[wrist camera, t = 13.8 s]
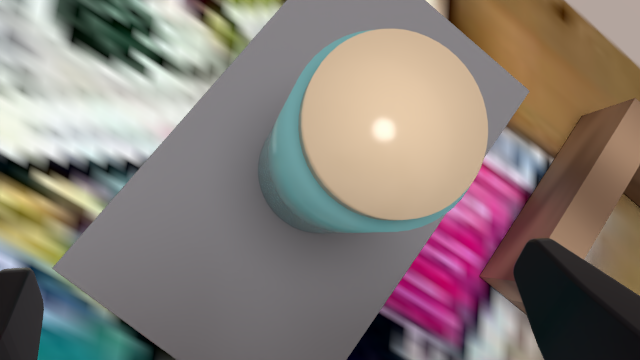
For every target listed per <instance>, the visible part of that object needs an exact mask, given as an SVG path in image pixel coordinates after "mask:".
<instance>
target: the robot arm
mask: <svg viewBox="0 0 640 360" xmlns="http://www.w3.org/2000/svg"><path fill="white" fill-rule="evenodd" d="M513 275H514V279H515V282H516V285H517V288H518V291H519V294H520V297H521V299H522V302H523V305H524V308H525V311H526V314H527V317H528V319H529V322H530V325H531V328H532V331H533V334H534V336H535V339H536V342H537V344H538V347H539V349H540V351H541V354H542V356H543V358H544V360H640V296H639V295H637V294H636V293H634V292H633V291H631V290H630V289H628V288H627V287H625V286H624V285H622V284H620V283H619V282H617V281H616V280H614V279H613V278H611V277H610V276H608V275H607V274H605V273H604V272H602V271H600V270H599V269H597V268H596V267H594V266H593V265H591V264H590V263H588V262H587V261H585V260H584V259H582V258H580V257H579V256H577V255H576V254H574V253H573V252H571V251H570V250H568V249H567V248H565V247H563V246H562V245H560V244H559V243H557V242H556V241H554V240H553V239H550V238H533V239H530V240H529V241H527V243H526V244H525V246H524V248H523V250H522V251H521V253H520V255H519V257H518V259H517V261H516V262H515V264H514V268H513ZM43 311H44V306H43V299H42V296H41V293H40V290H39V287H38V283H37V280H36V277H35V274H34V272H33V271H32V269H30V268H12V269H4V270H2V271H0V360H37V358H38V350H39V343H40V335H41V328H42V320H43Z"/></svg>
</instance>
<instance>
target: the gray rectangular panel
mask: <svg viewBox="0 0 640 360" xmlns="http://www.w3.org/2000/svg"><path fill="white" fill-rule="evenodd" d="M377 29H403V30H408V31H413V32H417V33H419V34H422V35H425V36H427V37H429V38H431V39H433V40H435V41H437V42H439V43H440V44H442V45H443V46H445V47H446V48H448V49H449V50H450V51H451V52H452V53H453V54H455V55H456V56H457V57H458V58H459V59H460V60H461V62H462V63H463V64H464V65H465V66H466V67H467V69H468V70H469V72H470V73H471V75H472V76H473V78H474V80H475V81H476V83H477V85H478V87H479V90H480V92H481V95H482V97H483V100H484V104H485V108H486V113H487V120H488V140H487V148H486V152H485V156H486V154H487V153H488V151H489V150H490V148H491V147H492V146H493V144H494V143H495V141H496V140H497V138H498V137H499V135H500V134H501V132H502V131H503V129H504V128H505V126H506V125H507V124H508V122H509V121H510V119H511V118H512V116H513V115H514V113H515V112H516V110H517V109H518V107H519V106H520V104H521V103H522V102H523V100H524V99H525V97H526V96H527V94H528V93H529V90H528V89H527V88H525V87H524V86H523V85H522V84H521V83H520V82H519V81H517V80H516V79H515V78H514V77H513V76H512V75H510V74H509V73H508V72H507V71H506V70H505V69H504V68H502V67H501V66H500V65H499V64H498V63H497V62H496V61H494V60H493V59H492V58H491V57H490V56H489V55H487V54H486V53H485V52H484V51H483V50H482V49H481V48H479V47H478V46H477V45H476V44H475V43H474V42H472V41H471V40H470V39H469V38H468V37H467V36H466V35H464V34H463V33H462V32H461V31H460V30H459V29H457V28H456V27H455V26H454V25H453V24H452V23H451V22H449V21H448V20H447V19H446V18H445V17H444V16H443V15H441V14H440V13H439V12H438V11H437V10H436V9H434V8H433V7H432V6H431V5H430V4H429V3H428V2H426V1H425V0H287V1H286V2H285V3H284V4H283V5H282V7H281V8H280V9H279V10H278V11H277V12H276V13H275V15H274V16H273V17H272V18H271V19H270V20H269V21H268V23H267V24H266V25H265V26H264V27H263V28H262V29H261V31H260V32H259V33H258V34H257V35H256V36H255V37H254V39H253V40H252V41H251V42H250V43H249V44H248V45H247V47H246V48H245V49H244V50H243V51H242V52H241V53H240V55H239V56H238V57H237V58H236V59H235V60H234V61H233V63H232V64H231V65H230V66H229V67H228V68H227V69H226V71H225V72H224V73H223V74H222V75H221V76H220V77H219V79H218V80H217V81H216V82H215V83H214V84H213V85H212V86H211V88H210V89H209V90H208V91H207V92H206V93H205V94H204V96H203V97H202V98H201V99H200V100H199V101H198V102H197V104H196V105H195V106H194V107H193V108H192V109H191V110H190V112H189V113H188V114H187V115H186V116H185V117H184V118H183V120H182V121H181V122H180V123H179V124H178V125H177V126H176V128H175V129H174V130H173V131H172V132H171V133H170V134H169V136H168V137H167V138H166V139H165V140H164V141H163V142H162V144H161V145H160V146H159V147H158V148H157V149H156V150H155V152H154V153H153V154H152V155H151V156H150V157H149V158H148V160H147V161H146V162H145V163H144V164H143V165H142V166H141V168H140V169H139V170H138V171H137V172H136V173H135V174H134V176H133V177H132V178H131V179H130V180H129V181H128V182H127V183H126V185H125V186H124V187H123V188H122V189H121V190H120V191H119V193H118V194H117V195H116V196H115V197H114V198H113V199H112V201H111V202H110V203H109V204H108V205H107V206H106V207H105V209H104V210H103V211H102V212H101V213H100V214H99V215H98V217H97V218H96V219H95V220H94V221H93V222H92V223H91V225H90V226H89V227H88V228H87V229H86V230H85V231H84V233H83V234H82V235H81V236H80V237H79V238H78V239H77V241H76V242H75V243H74V244H73V245H72V246H71V247H70V249H69V250H68V251H67V252H66V253H65V254H64V255H63V257H62V258H61V259H60V260H59V261H58V262H57V263H56V265H55V266H54V267H53V268H52V269H54V270H55V271H56V272H58V273H59V274H60V275H62V276H63V277H65V278H66V279H67V280H69V281H70V282H71V283H73V284H74V285H75V286H77V287H78V288H80V289H81V290H82V291H84V292H85V293H86V294H88V295H89V296H90V297H92V298H93V299H95V300H96V301H97V302H99V303H100V304H101V305H103V306H104V307H105V308H107V309H108V310H110V311H111V312H112V313H114V314H115V315H116V316H118V317H119V318H120V319H122V320H123V321H125V322H126V323H127V324H129V325H130V326H131V327H133V328H134V329H135V330H137V331H138V332H139V333H141V334H142V335H144V336H145V337H146V338H148V339H149V340H150V341H152V342H153V343H154V344H156V345H157V346H159V347H160V348H161V349H163V350H164V351H165V352H167V353H168V354H169V355H171V356H172V357H174V358H175V359H176V360H347V358H348V357H349V355H350V354H351V352H352V351H353V349H354V348H355V346H356V345H357V343H358V342H359V340H360V339H361V338H362V336H363V335H364V333H365V332H366V330H367V329H368V327H369V326H370V324H371V323H372V321H373V320H374V318H375V317H376V316H377V314H378V313H379V311H380V310H381V308H382V307H383V305H384V304H385V302H386V301H387V299H388V298H389V296H390V295H391V294H392V292H393V291H394V289H395V288H396V286H397V285H398V283H399V282H400V280H401V279H402V277H403V276H404V275H405V273H406V272H407V270H408V269H409V267H410V266H411V264H412V263H413V261H414V260H415V258H416V257H417V255H418V254H419V253H420V251H421V250H422V248H423V247H424V245H425V244H426V242H427V241H428V239H429V238H430V236H431V235H432V233H433V232H434V231H435V229H436V228H437V226H438V225H439V223H440V222H441V220H442V219H443V217H444V216H445V215H443V216H442V217H440V218H438V219H437V220H435V221H433V222H431V223H429V224H427V225H424V226H422V227H419V228H415V229H412V230H407V231H399V232H371V233H329V234H316V233H309V232H305V231H301V230H298V229H296V228H294V227H292V226H290V225H288V224H287V223H285V222H284V221H283V220H281V219H280V218H279V217H278V216H277V215H276V214H275V213H274V212H273V211H272V210H271V208H270V207H269V205H268V204H267V202H266V200H265V198H264V196H263V194H262V191H261V188H260V184H259V179H258V162H259V156H260V153H261V149H262V147H263V145H264V142H265V140H266V138H267V137H268V135H269V133H270V131H271V129H272V127H273V125H274V123H275V121H276V120H277V118H278V116H279V114H280V112H281V110H282V108H283V106H284V104H285V102H286V101H287V99H288V97H289V95H290V93H291V91H292V89H293V87H294V85H295V84H296V82H297V80H298V78H299V76H300V75H301V73H302V71H303V70H304V68H305V67H306V66H307V64H308V63H309V62H310V61H311V60H312V58H313V57H314V56H315V55H316V54H318V53H319V52H320V51H321V50H322V49H323V48H325V47H326V46H328V45H329V44H331V43H332V42H334V41H336V40H338V39H340V38H342V37H344V36H347V35H350V34H353V33H356V32H361V31H367V30H377ZM485 156H484V157H485Z"/></svg>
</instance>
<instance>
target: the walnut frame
mask: <svg viewBox="0 0 640 360" xmlns="http://www.w3.org/2000/svg"><path fill="white" fill-rule="evenodd" d="M623 193H624V194H625V195H626V196H628V197H629V198H630V199H631V200H632V201H633V202H635V203H636V204H637V205H638V206H639V207H640V102H639V101H638V100H637V99H636V98H634V99H631V100H628V101H625V102H622V103H619V104H616V105H613V106H610V107H607V108H604V109H601V110H598V111H595V112H592V113H589V114H586V115H583V116H582V117H581V119H580V120H579V122H578V123H577V125H576V126H575V128H574V130H573V131H572V133H571V134H570V136H569V137H568V139H567V140H566V142H565V144H564V145H563V147H562V148H561V150H560V151H559V153H558V154H557V156H556V158H555V159H554V161H553V162H552V164H551V165H550V167H549V169H548V170H547V172H546V173H545V175H544V176H543V178H542V179H541V181H540V183H539V184H538V186H537V187H536V189H535V190H534V192H533V193H532V195H531V197H530V198H529V200H528V201H527V203H526V204H525V206H524V208H523V209H522V211H521V212H520V214H519V215H518V217H517V218H516V220H515V222H514V223H513V225H512V226H511V228H510V229H509V231H508V232H507V234H506V236H505V237H504V239H503V240H502V242H501V243H500V245H499V247H498V248H497V250H496V251H495V253H494V254H493V256H492V257H491V259H490V261H489V262H488V264H487V265H486V267H485V268H484V270H483V272H482V273H481V275H480V277H481V278H482V279H483V280H485V281H486V282H487V283H488V284H489V285H491V286H492V287H493V288H494V289H496V290H497V291H498V292H499V293H501V294H502V295H503V296H504V297H505V298H507V299H508V300H509V301H510V302H512V303H513V304H514V305H515V306H517V307H518V308H519V309H520V310H522V311H523V312H524V313H525V314H526V311H525V308H524V305H523V302H522V299H521V297H520V294H519V291H518V288H517V285H516V282H515V279H514V275H513V268H514V264H515V262H516V261H517V259H518V257H519V255H520V253H521V251H522V250H523V248H524V246H525V244H526V243H527V241H529V240H530V239H533V238H550V239H553V240H554V241H556V242H557V243H559V244H560V245H562V246H563V247H565V248H567V249H568V250H570V251H571V252H573V253H574V254H576V255H577V256H579V257H580V258H582V259H584V258H585V257H586V255H587V253H588V252H589V250H590V248H591V246H592V245H593V243H594V241H595V240H596V238H597V236H598V235H599V233H600V231H601V230H602V228H603V226H604V224H605V223H606V221H607V219H608V218H609V216H610V214H611V213H612V211H613V209H614V207H615V206H616V204H617V202H618V201H619V199H620V197H621V196H622V194H623ZM526 315H527V314H526Z"/></svg>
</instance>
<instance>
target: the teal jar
mask: <svg viewBox="0 0 640 360" xmlns="http://www.w3.org/2000/svg"><path fill="white" fill-rule="evenodd" d="M487 140H488V120H487V113H486V108H485V104H484V100H483V97H482V95H481V92H480V90H479V87H478V85H477V83H476V81H475V80H474V78H473V76H472V75H471V73H470V72H469V70H468V69H467V67H466V66H465V65H464V64H463V63H462V62H461V60H460V59H459V58H458V57H457V56H456V55H455V54H453V53H452V52H451V51H450V50H449V49H448V48H446V47H445V46H443V45H442V44H440V43H439V42H437V41H435V40H433V39H431V38H429V37H427V36H425V35H422V34H419V33H417V32H413V31H408V30H403V29H377V30H367V31H361V32H356V33H353V34H350V35H347V36H344V37H342V38H340V39H338V40H336V41H334V42H332V43H331V44H329V45H328V46H326V47H325V48H323V49H322V50H321V51H320V52H319V53H318V54H316V55H315V56H314V57H313V58H312V60H311V61H310V62H309V63H308V64H307V66H306V67H305V68H304V70H303V71H302V73H301V75H300V76H299V78H298V80H297V82H296V84H295V85H294V87H293V89H292V91H291V93H290V95H289V97H288V99H287V101H286V102H285V104H284V106H283V108H282V110H281V112H280V114H279V116H278V118H277V120H276V121H275V123H274V125H273V127H272V129H271V131H270V133H269V135H268V137H267V138H266V140H265V142H264V145H263V147H262V149H261V153H260V156H259V162H258V179H259V184H260V188H261V191H262V194H263V196H264V198H265V200H266V202H267V204H268V205H269V207H270V208H271V210H272V211H273V212H274V213H275V214H276V215H277V216H278V217H279V218H280V219H281V220H283V221H284V222H285V223H287V224H288V225H290V226H292V227H294V228H296V229H298V230H301V231H305V232H309V233H316V234H329V233H371V232H399V231H407V230H412V229H415V228H419V227H422V226H424V225H427V224H429V223H431V222H433V221H435V220H437V219H438V218H440V217H442V216H443V215H445V214H446V213H447V212H448V211H450V210H451V209H452V208H453V207H454V206H455V205H456V204H457V203H458V202H459V201H460V200H461V199H462V197H463V196H464V194H465V193H466V192H467V190H468V189H469V187H470V185H471V183H472V182H473V181H474V179H475V177H476V176H477V174H478V172H479V170H480V168H481V165H482V162H483V160H484V156H485V152H486V148H487Z"/></svg>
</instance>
